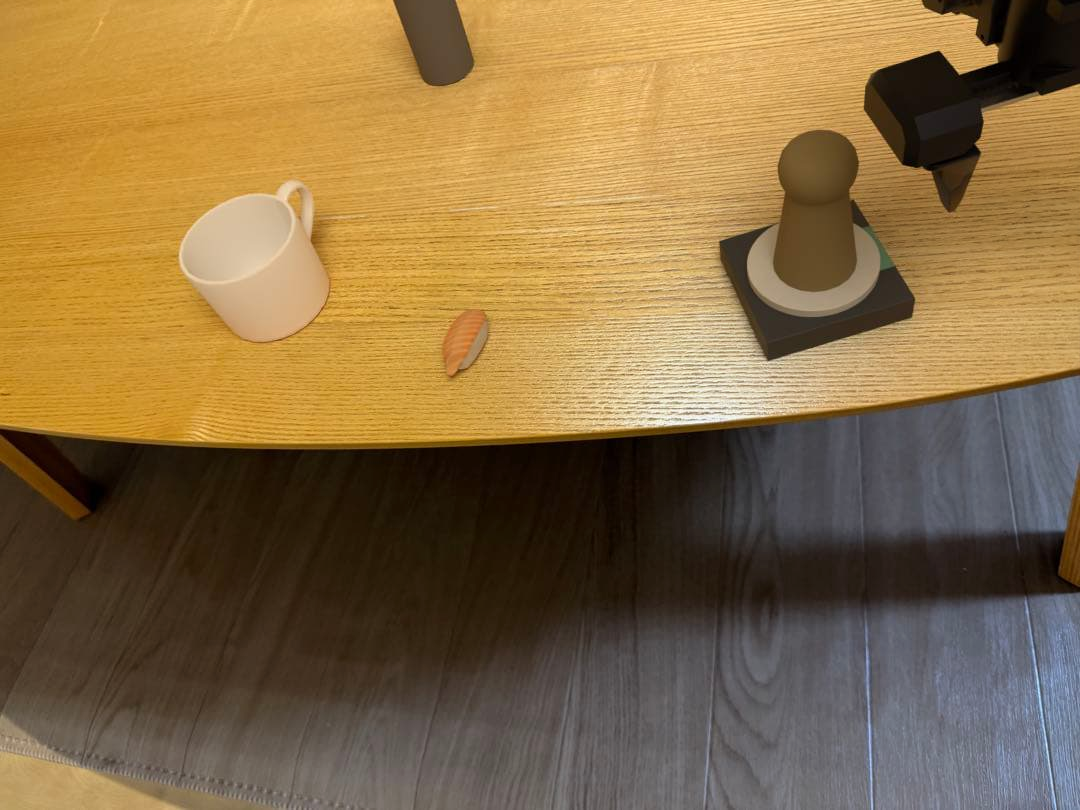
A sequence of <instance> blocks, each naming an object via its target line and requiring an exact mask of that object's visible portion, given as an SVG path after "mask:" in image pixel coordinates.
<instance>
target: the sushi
mask: <svg viewBox="0 0 1080 810" xmlns="http://www.w3.org/2000/svg"><path fill="white" fill-rule="evenodd" d="M486 319H487V313H486V312H485V311H483V310H481V309H479V308H474V309H473V308H472V309H469V310H465V311H463V312H461V313H460V314H459V315H458V316H457V317H456V318H455V319H454V321H453V322H452V324H451V325H450V327H449V328H448V330H447V332H446V334H445V337H444V339H443V342H442V350H441V351H442V356H443V360H444V363H445V374H446V375H447V376H449V377H450V376H454V375H455V374H456V373H457V371H458V370H466V369H468V368H469V367H470V366H472V364H474V362H475V360H476V359H477V357H478V355H479V354H480V352H481V351H482V349H483V347H484V344H485V343H486V341H487V339H488V337H489V335H488V334H489V331H488V330H489V329H488V321H487V320H486Z"/></svg>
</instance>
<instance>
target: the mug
mask: <svg viewBox="0 0 1080 810" xmlns="http://www.w3.org/2000/svg"><path fill="white" fill-rule="evenodd" d="M295 191H297V193H298V194H299V197H300V218H299V216H298V213H297V211H296V210H295V209H294V207H293V206H292V205H291V204H290V202H289V200H290V197H291V196H292V194H293V192H295ZM314 215H315V202H314V197H313V195H312V191H311V189H310V188H309V187H308V186H307V185H306V184H305V183H304V182H302V181H301V180H299V179H292V180H291V179H290V180H287V181H285V182H284V183H283V184H281V185H280V186H279V188H278V189H277V191H276V192H275V194H269V193H264V192H262V193H260V192H259V193H248V194H244V195H239V196H236V197H233V198H231V199H228V200H225V201H224V202H223V201H222V202H221V203H219V204H217V205H216V206H214V207H213V208H211V209H210V210H207V211H206V212H205V213H204V214H203V215H201V217H199V219H197V220H196V221H195V222H194V223H193V225H192V226H191V227H190V228H189V230H188V231H187V232H186V233H185V235H184V237H183V239H182V241H181V243H180V247H179V251H178V262H179V268H180V271H181V272H182V273H183V275H184V276H185V278H186V279H187V280H188V281H189V282H190V283H191V285H192V286H193V287H194V288H195V290H196V291H197V292H198V293H199V294H200V295H201V297H202V298H203V299H204V300H205V301H206V302H207V304H209V306H210V307H211V308H212V310H214V312H215V313H216V314H217V315H218V316H219V317H220V319H221V320H222V321H223V322H224V324H226V326H227V328H229V329H230V330H231V332H232V333H233V334H234V335H236V336H238V338H240V339H242V340H244V341H245V340H246V341H249V342H253V343H269V342H274V341H279V340H283V339H286V338H288V337H290V336H292V335H294V334H296V333H298V332H299V331H301V330H302V329H304V328H305V327H307V326H308V325H309V324H310V323H311V322H312V321H313V320H314V319H315V318H316V317H317V316H319V314H320V312H321V311H322V309H323V308H324V306H325V305H326V302H327V299H328V297H329V294H330V286H331V285H330V284H331V281H330V279H329V275H328V272H327V271H326V269H325V266H324V265H323V262H322V261H321V258H320V256H319V255H318V253H317V251H316V249H315V247H314V245H313V243H312V241H311V240H312V234H313V225H314V224H313V223H314V217H315V216H314Z"/></svg>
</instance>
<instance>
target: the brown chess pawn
mask: <svg viewBox="0 0 1080 810" xmlns="http://www.w3.org/2000/svg"><path fill="white" fill-rule="evenodd" d="M859 165H860V161H859V156H858V152H857V149H856V147H855V146H854V145H853V143H852V142H851V141H850V140H849V138H848V137H847V136H845V135H844V134H842V133H840V132H837V131H835V130H830V129H813V130H807V131H805V132H802V133H799V134H798V135H796V136H795V137H793V138H792V139H790V140H789V142H787V144H786V145H785V147H784V148H783V149H782V150H781V153H780V156H779V159H778V162H777V175H778V181H779V184H780V187H781V189H782V190H783V191H784V195H783V202H782V206H781V214H780V217H779V222H780V224H779V230H778V235H777V241H776V247H775V252H774V258H773V266H774V271H775V273H776V274H777V276H778V277H779V279H780V280H781V281H783V282H784V283H785V284H786V285H788V286H790V287H792V288H795V289H797V290H800V291H808V292H819V291H827V290H830V289H833V288H835V287H838V286H840V285H841V284H843V283H844V282H845V281H847V280H848V279H849V278H850V277H851V275H852V274H853V272H854V271H855V268H856V264H857V255H856V246H855V237H854V228H853V219H852V210H851V202H850V200H851V194H850V193H851V192H850V190H851V188H852V187H853V186H854V184H855V181H856V180H857V177H858V173H859V168H860V167H859Z"/></svg>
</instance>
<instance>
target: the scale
mask: <svg viewBox="0 0 1080 810" xmlns="http://www.w3.org/2000/svg"><path fill="white" fill-rule="evenodd" d="M850 202H851V210H852V219H853V228H854V237H855V246H856V255H857V264H856V268H855V271H854V272H853V274H852V275H851V277H850V278H849V279H848V280H847V281H845V282H844V283H843V284H841V285H840V286H838V287H835V288H833V289H830V290H827V291H819V292H808V291H800V290H797V289H795V288H792V287H790V286H788V285H786V284H785V283H784V282H783V281H781V280H780V279H779V277H778V276H777V274H776V273H775V271H774V266H773V258H774V252H775V247H776V241H777V235H778V230H779V224H780V221H779V222H775V223H773V224H770V225H767V226H763V227H759V228H756V229H754V230H749V231H746V232H743V233H741V234H737V235H734V236H731V237H727V238H724V239H721V240H719V241H718V245H719V258H720V262H721V264H722V266H723V268H724V270H725V272H726V275H727V277H728V279H729V281H730V283H731V286H732V287H733V289H734V291H735V294H736V296H737V299H738V300H739V303H740V305H741V307H742V309H743V311H744V313H745V315H746V317H747V320H748V321H749V324H750V327H751V328H752V330H753V332H754V334H755V337H756V339H757V341H758V343H759V345H760V347H761V350H762V352H763V354H764V356H765V358H766V360H767V362H769V361H773V360H777V359H780V358H782V357H785V356H789V355H793V354H796V353H799V352H803V351H806V350H809V349H813V348H815V347H818V346H822V345H826V344H828V343H833V342H836V341H839V340H842V339H845V338H848V337H852V336H855V335H858V334H862V333H865V332H868V331H872V330H875V329H879V328H883V327H885V326H888V325H892V324H895V323H899V322H902V321H906V320H908V319H911V318H913V315H914V309H915V303H916V297H915V296H914V294H913V292H912V291H911V289H910V287H909V285H908V284H907V282H906V281H905V279H904V278H903V276H902V275H901V272H900V271H899V270H898V268H897V266H896V264H895V263H894V262H893V260H892V259H891V257H890V255H889V254H888V252H887V250H886V249H885V247H884V246H883V244H882V242H881V241H880V239H879V238H878V236H877V235H876V233H875V231H874V229H873V228H872V226H871V225H870V223H869V222H868V220H867V218H866V217H865V215H864V214H863V212H862V210H861V209H860V207H859V206H858V204H857V203H856V201H855V199H854V198H853V199H850Z"/></svg>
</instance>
